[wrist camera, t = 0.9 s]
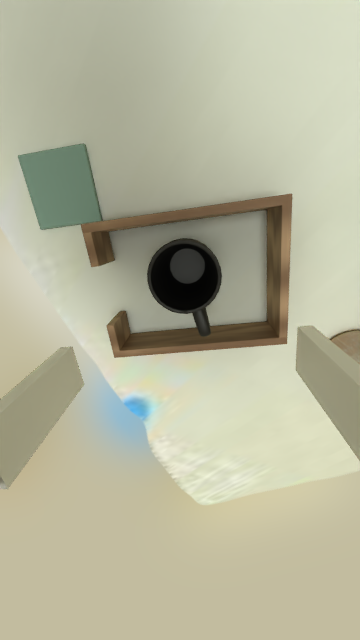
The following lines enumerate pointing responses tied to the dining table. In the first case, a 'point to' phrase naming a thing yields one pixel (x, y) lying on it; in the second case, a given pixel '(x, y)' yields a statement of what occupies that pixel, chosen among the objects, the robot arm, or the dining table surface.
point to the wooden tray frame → (220, 335)
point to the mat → (61, 186)
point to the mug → (185, 279)
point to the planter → (349, 344)
